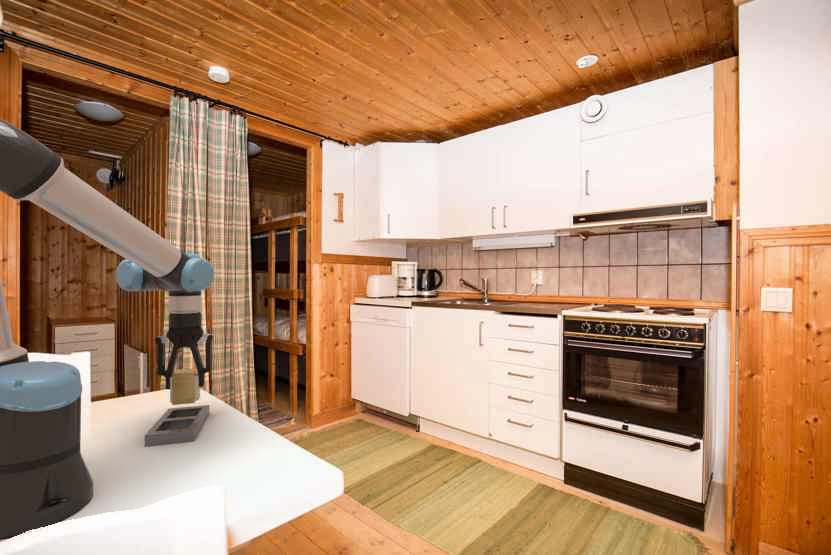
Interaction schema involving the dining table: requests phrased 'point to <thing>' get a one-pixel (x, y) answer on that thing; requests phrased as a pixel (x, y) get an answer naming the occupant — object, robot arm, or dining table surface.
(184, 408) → the rail
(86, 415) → the dining table surface
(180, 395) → the block
